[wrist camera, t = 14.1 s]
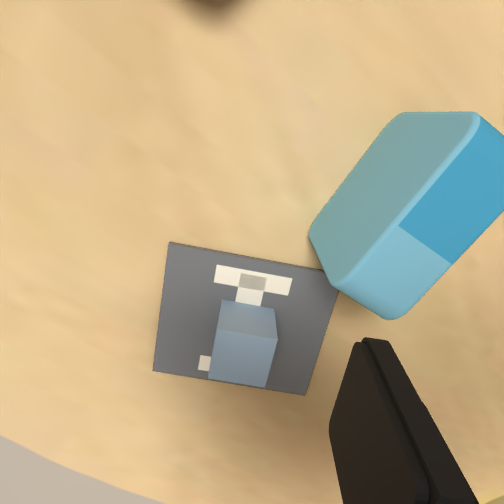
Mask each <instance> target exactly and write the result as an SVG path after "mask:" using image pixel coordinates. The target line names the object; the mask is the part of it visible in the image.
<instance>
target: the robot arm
mask: <svg viewBox="0 0 504 504" xmlns="http://www.w3.org/2000/svg"><path fill="white" fill-rule="evenodd" d="M329 437H330V442H331V446H332V451H333V456H334V461H335V466H336V471H337V475H338V480H339V485H340V490H341V495H342V500H343V504H479V502H478V501H477V499H476V497H475V495H474V493H473V492H472V490H471V488H470V486H469V484H468V482H467V481H466V479H465V477H464V475H463V473H462V472H461V470H460V468H459V466H458V464H457V462H456V461H455V459H454V457H453V455H452V453H451V452H450V450H449V448H448V446H447V444H446V442H445V441H444V439H443V437H442V435H441V433H440V432H439V430H438V428H437V426H436V424H435V422H434V421H433V419H432V417H431V415H430V413H429V412H428V410H427V408H426V406H425V405H424V404H423V402H422V401H421V399H420V398H419V396H418V394H417V392H416V390H415V388H414V387H413V385H412V383H411V381H410V379H409V377H408V376H407V374H406V372H405V370H404V368H403V366H402V365H401V363H400V361H399V359H398V357H397V355H396V354H395V352H394V350H393V348H392V346H391V344H390V343H389V342H388V341H386V340H380V339H374V338H367V337H365V338H363V339H362V341H361V342H356V343H355V344H354V346H353V349H352V352H351V355H350V358H349V361H348V365H347V368H346V371H345V374H344V377H343V380H342V383H341V387H340V390H339V393H338V396H337V399H336V402H335V406H334V409H333V412H332V415H331V418H330V422H329Z"/></svg>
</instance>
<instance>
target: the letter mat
mask: <svg viewBox="0 0 504 504" xmlns="http://www.w3.org/2000/svg"><path fill="white" fill-rule="evenodd" d="M338 292H339V290H338V289H336V288H335V287H333V286H332V285H331V284H330V282H329V280H328V278H327V276H326V274H325V271H324V270H319V269H313V268H308V267H303V266H297V265H292V264H287V263H281V262H276V261H270V260H265V259H260V258H254V257H249V256H244V255H238V254H233V253H228V252H222V251H217V250H212V249H206V248H201V247H196V246H190V245H185V244H180V243H174V242H169V244H168V251H167V259H166V267H165V275H164V283H163V291H162V299H161V307H160V315H159V323H158V331H157V339H156V347H155V355H154V363H153V371H156V372H162V373H168V374H174V375H180V376H187V377H193V378H199V379H205V380H211V381H218V382H224V383H230V384H236V385H242V386H249V387H255V388H261V389H267V390H273V391H280V392H286V393H292V394H298V395H304V396H305V394H306V391H307V388H308V385H309V382H310V379H311V376H312V373H313V369H314V366H315V363H316V360H317V357H318V354H319V351H320V348H321V344H322V341H323V338H324V335H325V332H326V329H327V326H328V323H329V320H330V316H331V313H332V310H333V307H334V304H335V301H336V298H337V295H338ZM222 299H223V300H229V301H234V302H240V303H245V304H251V305H257V306H262V307H268V308H274V310H275V319H276V328H277V337H278V341H277V344H276V348H275V352H274V356H273V359H272V363H271V367H270V370H269V374H268V378H267V382H266V385H265V388H264V387H258V386H252V385H246V384H239V383H233V382H227V381H221V380H215V379H209V378H208V373H209V368H210V362H211V356H212V350H213V344H214V339H215V333H216V328H217V323H218V318H219V313H220V308H221V302H222Z"/></svg>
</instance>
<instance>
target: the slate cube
mask: <svg viewBox="0 0 504 504" xmlns="http://www.w3.org/2000/svg"><path fill="white" fill-rule="evenodd" d="M277 341H278V337H277V328H276V319H275V310H274V308H268V307H262V306H257V305H251V304H245V303H240V302H234V301H229V300H223V299H222V302H221V308H220V313H219V318H218V323H217V328H216V333H215V339H214V344H213V350H212V356H211V362H210V368H209V373H208V378H209V379H215V380H221V381H227V382H233V383H239V384H246V385H252V386H258V387H264V388H265V385H266V382H267V378H268V374H269V370H270V367H271V363H272V359H273V356H274V352H275V348H276V344H277Z"/></svg>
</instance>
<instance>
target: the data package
mask: <svg viewBox="0 0 504 504" xmlns="http://www.w3.org/2000/svg"><path fill="white" fill-rule="evenodd" d="M503 211H504V135H502V134H501V133H500V132H499V131H498V130H497V129H495V128H494V127H493V126H492V125H491V124H490V123H488V122H487V121H486V120H485V119H484V118H482V117H481V116H480V115H479V114H478V113H476V112H404V113H401V114H399V115H397V116H396V117H395V118H394V119H392V120H391V121H390V122H389V123H388V124H387V125H386V127H385V128H384V129H383V130H382V132H381V133H380V134H379V136H378V137H377V138H376V140H375V141H374V142H373V144H372V145H371V146H370V147H369V149H368V150H367V151H366V153H365V154H364V155H363V157H362V158H361V159H360V161H359V162H358V163H357V165H356V166H355V167H354V168H353V170H352V171H351V172H350V174H349V175H348V176H347V178H346V179H345V180H344V182H343V183H342V184H341V186H340V187H339V188H338V189H337V191H336V192H335V193H334V195H333V196H332V197H331V199H330V200H329V201H328V203H327V204H326V205H325V207H324V208H323V209H322V210H321V212H320V213H319V214H318V216H317V217H316V218H315V220H314V222H313V223H312V225H311V227H310V230H309V239H310V241H311V243H312V245H313V247H314V250H315V252H316V254H317V256H318V258H319V260H320V263H321V265H322V267H323V269H324V271H325V274H326V276H327V278H328V280H329V282H330V284H331V285H332V286H333V287H335V288H336V289H338V290H339V291H341V292H342V293H344V294H346V295H347V296H349V297H350V298H352V299H353V300H355V301H357V302H358V303H360V304H361V305H363V306H364V307H366V308H367V309H369V310H371V311H372V312H374V313H375V314H377V315H378V316H380V317H382V318H383V319H386V320H394V319H397V318H399V317H401V316H403V315H404V314H406V313H407V312H408V311H409V310H410V309H411V308H412V307H413V306H414V305H415V304H416V303H417V302H418V301H419V300H420V299H421V297H422V296H423V295H424V294H425V293H426V292H427V291H428V290H429V289H430V288H431V287H432V286H433V285H434V284H435V283H436V282H437V281H438V280H439V278H440V277H441V276H442V275H443V274H444V273H445V272H446V271H447V270H448V269H449V268H450V267H451V266H452V265H453V264H454V263H455V262H456V261H457V259H458V258H459V257H460V256H461V255H462V254H463V253H464V252H465V251H466V250H467V249H468V248H469V247H470V246H471V245H472V244H473V243H474V242H475V241H476V239H477V238H478V237H479V236H480V235H481V234H482V233H483V232H484V231H485V230H486V229H487V228H488V227H489V226H490V225H491V224H492V223H493V222H494V220H495V219H496V218H497V217H498V216H499V215H500V214H501V213H502V212H503Z"/></svg>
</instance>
